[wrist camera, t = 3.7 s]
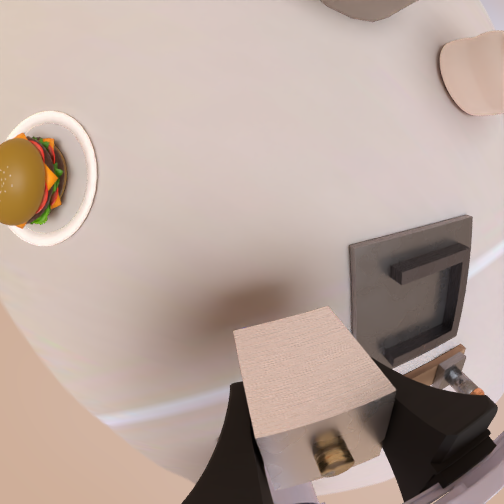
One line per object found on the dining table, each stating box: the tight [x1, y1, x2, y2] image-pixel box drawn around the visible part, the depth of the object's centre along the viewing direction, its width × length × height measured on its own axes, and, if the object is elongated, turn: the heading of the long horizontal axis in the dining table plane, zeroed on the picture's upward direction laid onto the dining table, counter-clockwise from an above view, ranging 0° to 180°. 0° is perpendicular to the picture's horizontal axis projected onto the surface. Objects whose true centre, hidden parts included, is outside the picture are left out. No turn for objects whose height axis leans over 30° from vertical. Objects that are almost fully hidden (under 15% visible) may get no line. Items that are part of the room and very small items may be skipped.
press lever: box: [432, 352, 484, 395], centre depth 22 cm, size 4×4×7 cm
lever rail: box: [404, 344, 466, 386], centre depth 25 cm, size 3×13×1 cm, turn 101°
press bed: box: [349, 215, 472, 369], centre depth 21 cm, size 13×13×2 cm
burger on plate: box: [0, 111, 97, 246], centre depth 12 cm, size 12×12×6 cm
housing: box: [233, 306, 397, 491], centre depth 10 cm, size 4×4×7 cm
